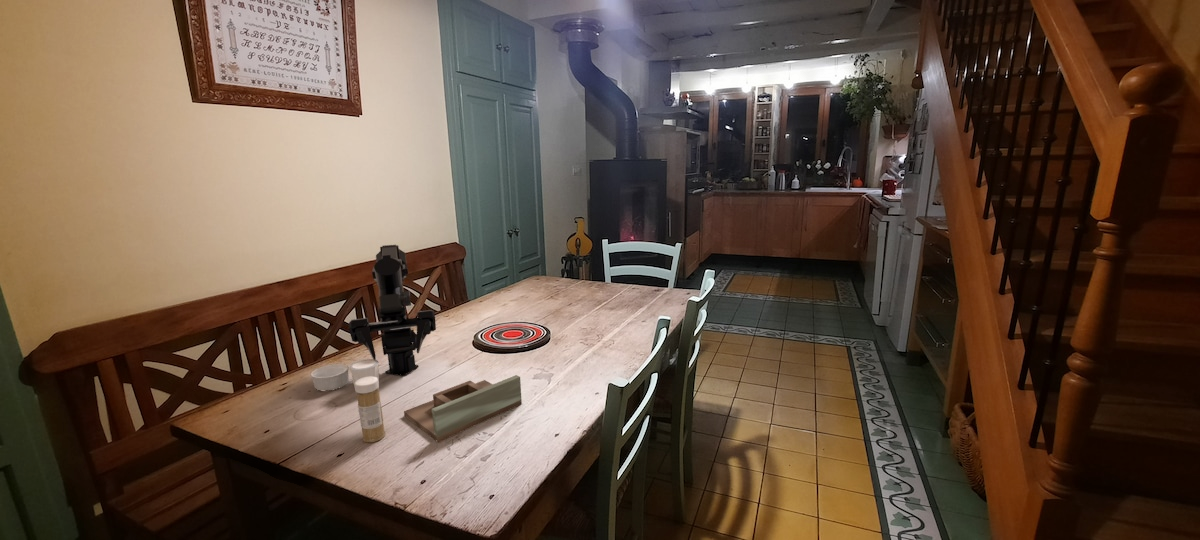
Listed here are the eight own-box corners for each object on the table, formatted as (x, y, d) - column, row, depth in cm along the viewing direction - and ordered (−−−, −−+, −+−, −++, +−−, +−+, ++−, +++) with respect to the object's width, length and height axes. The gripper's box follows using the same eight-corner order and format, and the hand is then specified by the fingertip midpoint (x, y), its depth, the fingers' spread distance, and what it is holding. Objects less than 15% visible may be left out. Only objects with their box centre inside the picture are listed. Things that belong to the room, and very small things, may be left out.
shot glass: (387, 384, 130) (384, 360, 129) (367, 396, 124) (364, 371, 122) (367, 381, 132) (363, 357, 131) (346, 392, 126) (343, 367, 124)
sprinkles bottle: (386, 430, 108) (378, 374, 105) (384, 440, 104) (377, 382, 101) (363, 434, 107) (355, 377, 104) (361, 445, 103) (352, 386, 100)
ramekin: (308, 385, 130) (305, 370, 129) (343, 375, 137) (341, 360, 136) (319, 396, 125) (317, 380, 124) (355, 384, 131) (353, 369, 130)
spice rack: (404, 415, 114) (401, 387, 112) (484, 384, 130) (482, 358, 128) (438, 442, 103) (435, 411, 102) (521, 404, 119) (520, 376, 117)
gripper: (344, 285, 111) (345, 342, 102) (430, 276, 118) (438, 329, 109) (352, 314, 119) (353, 369, 110) (432, 304, 126) (439, 356, 117)
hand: (396, 355), depth 111 cm, fingers open, 9 cm apart
